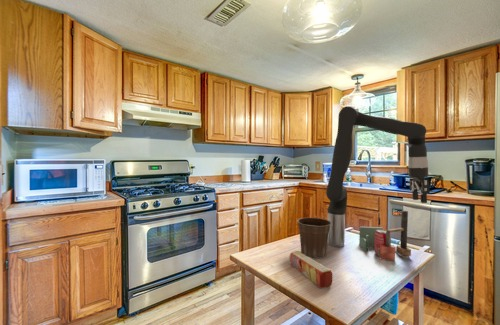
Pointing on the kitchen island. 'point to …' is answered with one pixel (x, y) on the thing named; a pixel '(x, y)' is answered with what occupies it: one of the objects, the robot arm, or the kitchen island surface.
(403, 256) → the rail
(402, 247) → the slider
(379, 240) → the soda can
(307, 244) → the plant pot
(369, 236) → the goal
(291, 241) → the kitchen island surface
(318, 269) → the snack package
